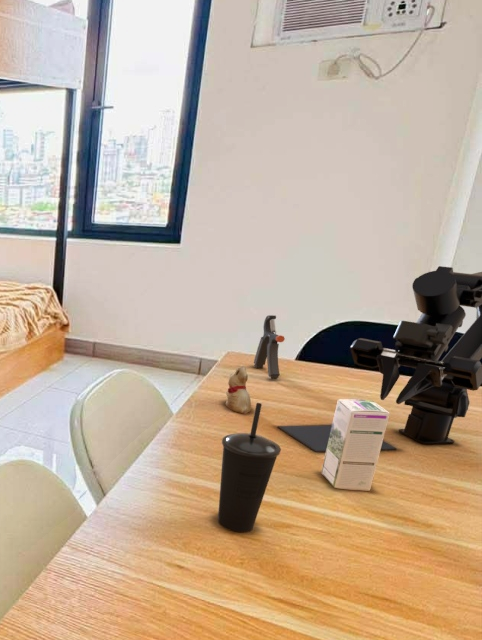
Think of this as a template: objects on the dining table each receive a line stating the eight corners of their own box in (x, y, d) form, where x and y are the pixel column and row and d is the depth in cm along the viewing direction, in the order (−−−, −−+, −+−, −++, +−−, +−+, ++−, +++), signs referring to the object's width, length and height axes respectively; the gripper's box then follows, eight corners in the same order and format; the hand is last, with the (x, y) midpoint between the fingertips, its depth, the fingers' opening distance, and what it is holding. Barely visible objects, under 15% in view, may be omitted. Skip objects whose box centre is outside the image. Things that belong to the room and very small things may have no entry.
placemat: (351, 425, 132) (352, 424, 132) (396, 449, 121) (396, 448, 121) (277, 427, 132) (277, 426, 132) (315, 452, 120) (315, 450, 120)
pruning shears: (270, 381, 159) (281, 323, 154) (252, 366, 171) (262, 312, 166) (279, 381, 159) (291, 323, 154) (261, 366, 171) (271, 312, 165)
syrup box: (371, 491, 106) (393, 412, 101) (332, 488, 107) (352, 409, 102) (355, 476, 111) (375, 399, 106) (318, 473, 112) (336, 397, 107)
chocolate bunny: (252, 403, 145) (260, 362, 141) (249, 414, 138) (257, 372, 135) (225, 399, 147) (232, 359, 144) (221, 410, 141) (228, 368, 138)
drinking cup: (258, 515, 99) (283, 397, 92) (267, 541, 92) (295, 416, 86) (205, 508, 102) (226, 392, 95) (210, 532, 95) (233, 410, 88)
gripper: (367, 295, 115) (323, 362, 114) (498, 313, 100) (450, 391, 99) (376, 330, 122) (335, 394, 120) (501, 353, 107) (456, 426, 105)
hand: (389, 400), depth 111 cm, fingers closed
